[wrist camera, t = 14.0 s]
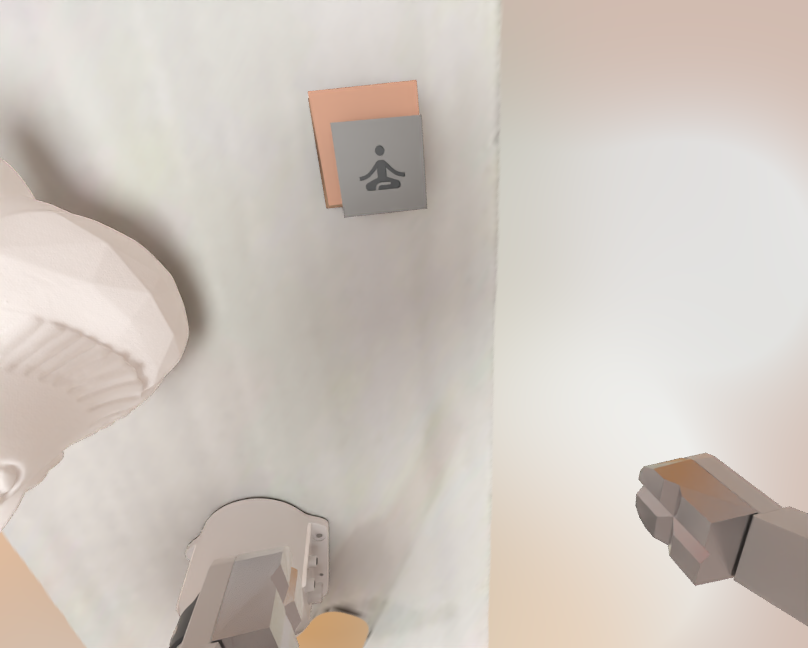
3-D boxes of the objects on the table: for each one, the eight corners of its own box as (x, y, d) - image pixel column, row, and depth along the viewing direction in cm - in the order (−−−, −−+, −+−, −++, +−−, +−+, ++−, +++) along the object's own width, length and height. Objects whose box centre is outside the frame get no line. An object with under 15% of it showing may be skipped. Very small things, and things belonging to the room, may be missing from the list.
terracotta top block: (415, 188, 32) (425, 193, 27) (331, 199, 31) (328, 205, 27) (405, 93, 29) (416, 79, 24) (314, 102, 28) (307, 91, 24)
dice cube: (345, 208, 27) (344, 217, 22) (334, 129, 25) (330, 122, 20) (414, 200, 27) (427, 208, 23) (408, 123, 25) (421, 114, 21)
